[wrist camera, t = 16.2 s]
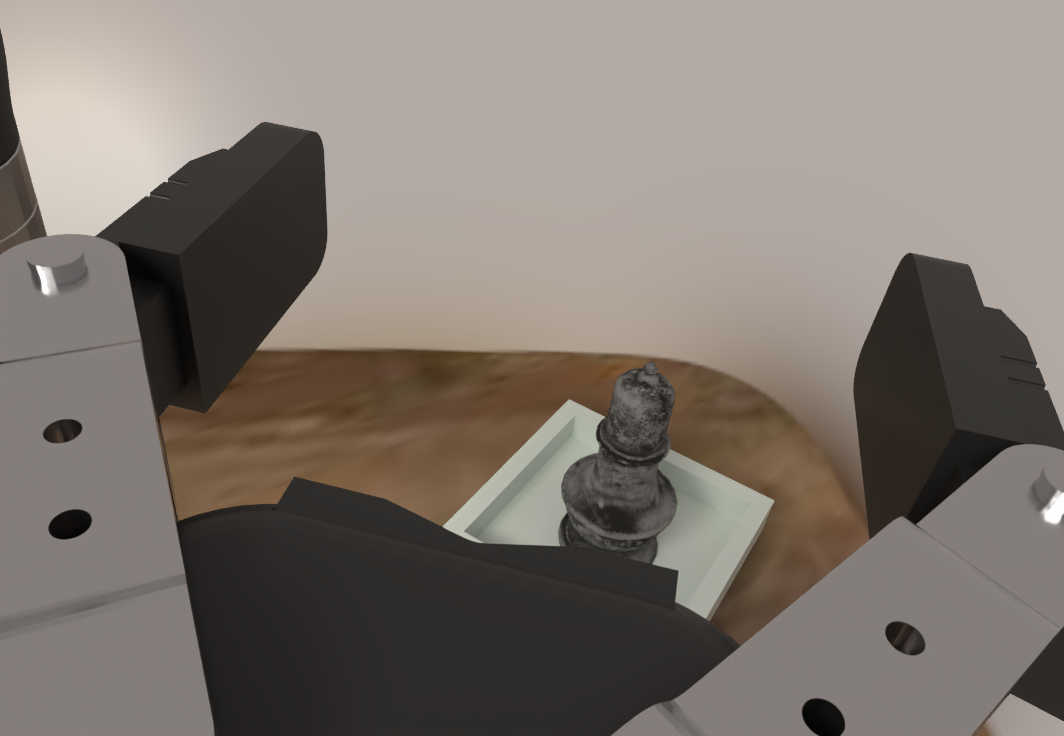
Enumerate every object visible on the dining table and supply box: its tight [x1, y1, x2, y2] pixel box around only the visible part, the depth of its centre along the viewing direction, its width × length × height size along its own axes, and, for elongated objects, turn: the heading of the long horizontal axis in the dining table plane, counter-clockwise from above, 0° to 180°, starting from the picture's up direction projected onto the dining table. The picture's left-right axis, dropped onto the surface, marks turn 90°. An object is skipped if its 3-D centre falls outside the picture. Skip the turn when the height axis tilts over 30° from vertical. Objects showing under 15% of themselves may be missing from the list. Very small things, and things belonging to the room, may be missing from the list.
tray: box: [443, 400, 774, 621], centre depth 46 cm, size 13×13×2 cm
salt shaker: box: [558, 361, 677, 564], centre depth 43 cm, size 6×6×12 cm
